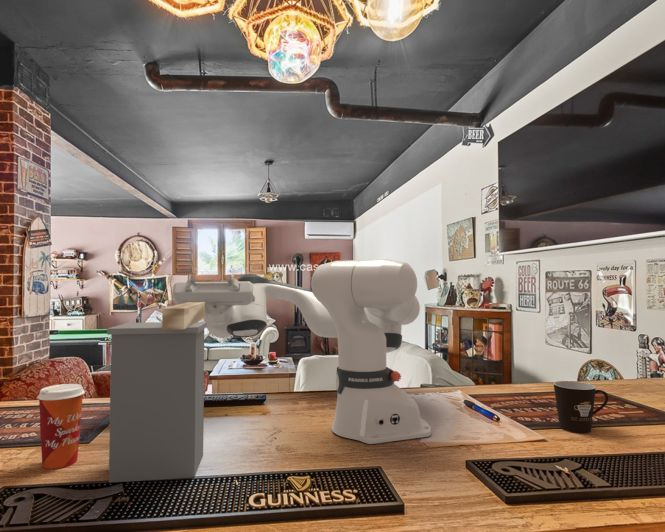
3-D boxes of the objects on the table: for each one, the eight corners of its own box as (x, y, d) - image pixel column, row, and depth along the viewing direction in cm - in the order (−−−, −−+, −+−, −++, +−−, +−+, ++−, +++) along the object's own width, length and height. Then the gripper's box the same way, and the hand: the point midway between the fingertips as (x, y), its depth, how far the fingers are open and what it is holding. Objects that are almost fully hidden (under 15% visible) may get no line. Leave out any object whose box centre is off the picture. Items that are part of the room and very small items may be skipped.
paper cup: (48, 475, 77) (50, 394, 78) (27, 465, 81) (29, 389, 82) (92, 459, 84) (93, 385, 84) (71, 451, 88) (72, 381, 88)
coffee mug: (555, 432, 99) (555, 387, 99) (552, 421, 107) (551, 379, 107) (616, 439, 95) (615, 392, 95) (608, 426, 103) (607, 383, 103)
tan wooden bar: (204, 318, 96) (205, 302, 97) (183, 329, 74) (184, 308, 74) (188, 318, 96) (188, 302, 96) (162, 329, 73) (162, 308, 73)
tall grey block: (206, 453, 87) (207, 321, 88) (196, 478, 76) (198, 327, 77) (126, 458, 85) (128, 322, 86) (104, 484, 74) (107, 328, 75)
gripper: (254, 313, 120) (253, 288, 109) (177, 314, 117) (167, 289, 106) (255, 293, 124) (253, 266, 112) (179, 293, 121) (170, 267, 109)
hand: (211, 277), depth 109 cm, fingers open, 8 cm apart
